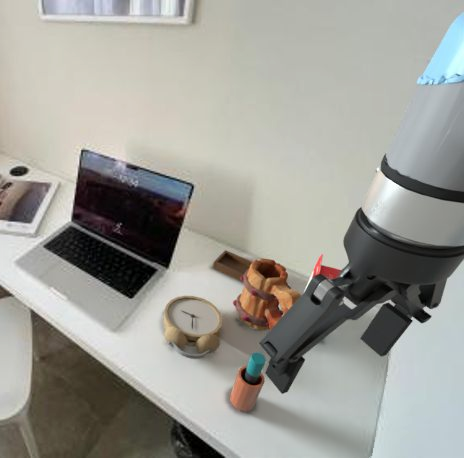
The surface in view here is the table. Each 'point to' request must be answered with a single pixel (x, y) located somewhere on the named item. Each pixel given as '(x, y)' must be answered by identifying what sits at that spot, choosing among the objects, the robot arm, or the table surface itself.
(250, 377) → the marker
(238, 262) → the pen tray
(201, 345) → the alarm clock
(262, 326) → the mug
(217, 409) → the table surface
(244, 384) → the pen pot
